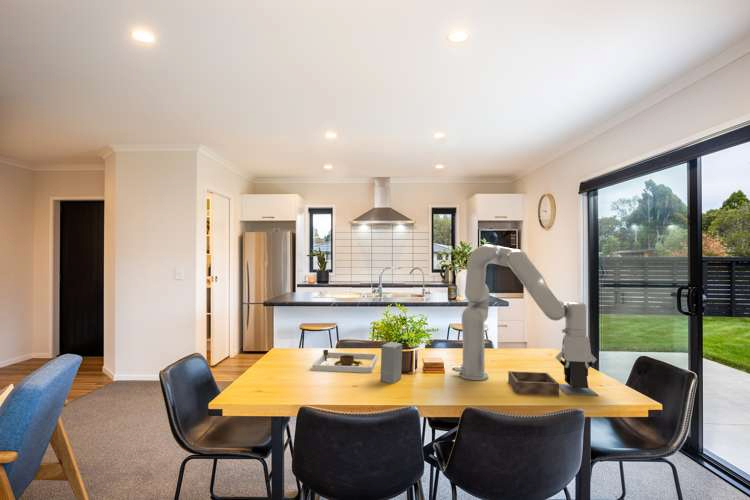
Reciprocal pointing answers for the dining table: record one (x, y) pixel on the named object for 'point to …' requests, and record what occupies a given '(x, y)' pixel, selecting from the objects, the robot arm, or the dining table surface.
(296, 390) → the dining table surface
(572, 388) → the mat
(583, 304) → the robot arm
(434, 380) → the dining table surface
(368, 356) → the serving tray rim
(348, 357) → the place setting
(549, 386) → the walnut crate
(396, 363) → the skincare box
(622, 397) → the dining table surface
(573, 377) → the door stopper
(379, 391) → the dining table surface
